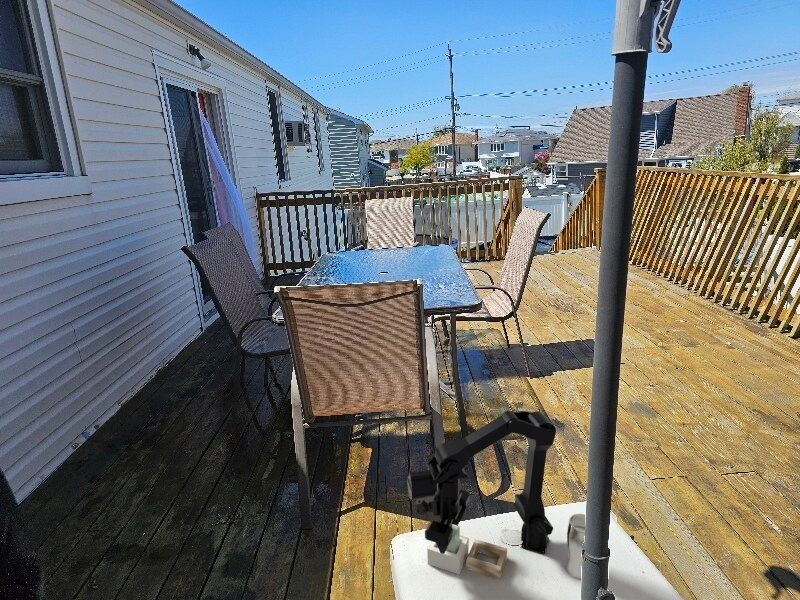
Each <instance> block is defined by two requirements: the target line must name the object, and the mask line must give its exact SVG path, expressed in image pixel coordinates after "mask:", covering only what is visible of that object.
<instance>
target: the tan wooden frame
mask: <svg viewBox="0 0 800 600" xmlns="http://www.w3.org/2000/svg"><path fill="white" fill-rule="evenodd" d="M478 551H479V552H481V553H480V554H483V555H486V556H489V557H493V558H495V559H498V560H497V563H496V564H494V563H491V562H488V561H484V560H481V559H477V556H478V553H479V552H478ZM477 552H478V553H477ZM476 555H477V556H476ZM507 558H508V548H507V547H503V546H501V545H498V544H497V545H496V544H494V543H490V542H487V541H483V540H481V539H476V538H475V539H474V541H473V543H472V545H471V547H470V550H469V551H468V555H467V558H466V560H465V562H466V570H469V571H471V572H476V573H478V574H481V575H485V576H487V577H491V578H494V579H497V580H501V577H502V573H503V570H504V568H505V564H506V562H507Z"/></svg>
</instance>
